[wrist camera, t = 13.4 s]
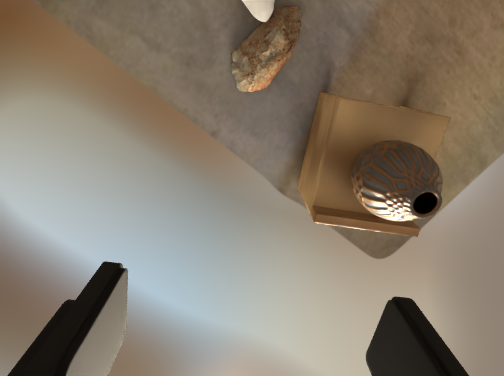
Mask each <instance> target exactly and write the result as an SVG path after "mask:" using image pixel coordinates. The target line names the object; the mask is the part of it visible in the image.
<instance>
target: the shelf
mask: <svg viewBox="0 0 504 376" xmlns="http://www.w3.org/2000/svg"><path fill="white" fill-rule="evenodd" d="M450 119H451V117H448V116H443V115H439V114H435V113H430V112H426V111H422V110H417V109H413V108H408V107H403V106H399V108H398V107H393V106H387V105H381V104H376V103H370V102H365V101H359V100H353V99H348V98H344V97H341V96H337V95H333V94H330V93H324V92H320V94H319V98H318V103H317V107H316V111H315V115H314V119H313V124H312V128H311V132H310V136H309V140H308V145H307V149H306V153H305V157H304V161H303V166H302V170H301V174H300V178H299V182H298V189H299V191H300V193H301V195H302V197H303V199H304V201H305V204H306V206H307V208H308V210H309V212H310V214H311V216H312V219H313V221H314V222H315V223H322V224H329V225H336V226H343V227H350V228H357V229H365V230H372V231H379V232H386V233H393V234H401V235H408V236H416V237H417V236H418V234H419V232H420V228H419V227H418V226H417V225H416V224H415V223H414V222H413V221H411V220H409V221H391V220H387V219H383V218H381V217H378V216H376V215H374V214H373V213H371V212H370V211H368V210H367V209H366V208H365V207H364V206H363V205H362V204H361V203H360V201H359V200H358V199H357V197H356V195H355V193H354V191H353V187H352V183H351V173H352V168H353V165H354V163H355V161H356V159H357V158H358V156H359V155H360V154H361V153H362V152H363V151H364V150H365V149H367V148H368V147H370V146H371V145H373V144H376V143H379V142H382V141H388V140H399V141H405V142H408V143H411V144H414V145H416V146H418V147H420V148H422V149H423V150H425V151H426V152H427V153H428V154H429V155H430V156H431V157H432V158H433V159H435V157H436V154H437V152H438V149H439V147H440V144H441V142H442V139H443V137H444V134H445V132H446V129H447V127H448V124H449V122H450Z"/></svg>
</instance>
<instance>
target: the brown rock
mask: <svg viewBox="0 0 504 376" xmlns="http://www.w3.org/2000/svg"><path fill="white" fill-rule="evenodd" d="M300 11H301V10H300V9H299V8H297V7H291V6H285V7H283V8H279V9H278V10H277V11H276V12H275V14H274V15H272V16H270V18H269V19H268V20H267V21H266V22H262V23H261V24H260V26H259V27H258V28H256V29H255V30H254V31H253V32H252V33H251V35H250V36H249V37H247V38H246V39H245V40H244V41H243V43H242V45H240V46H239V48H238V49H235V50H233V51H232V54H231V55H232V60H233V62H232V63H231V72H232V74H233V76H234V78H235V80H236V82H237V84H236V85H235V86H236V88H239V90H240V91H242V92H245V91H249V92H253V91H259V90H261V89H263V88H266V87H267V86H269V84H270V83H271V81H272V80H273V77H274V76H275V75H276V73H277V72H278V71H279V70H280V68H281V67H282V66H283V65H284V63H285V62H286V60H287V59H288V58H290V56H291V55H292V54H291V52H292V50H293V48H294V46H295V43H296V40H297V37H298V34H299V31H300V27H301V18H302V13H301V12H300Z"/></svg>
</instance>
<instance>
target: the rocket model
mask: <svg viewBox="0 0 504 376" xmlns="http://www.w3.org/2000/svg"><path fill="white" fill-rule="evenodd" d="M242 1H243V2H244V4H245V5H246V7H247V8H248V9H249V11H250V12H251V14H252V15H253V16H254V17H255V18H256V19H258V20H260V21H261V22H266V21H267V20H268V19H269V18H270V16H271V14H272V12H273V9H274V2H275V0H242Z"/></svg>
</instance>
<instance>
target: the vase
mask: <svg viewBox="0 0 504 376" xmlns="http://www.w3.org/2000/svg"><path fill="white" fill-rule="evenodd" d="M351 183H352V187H353V191H354V193H355V195H356V197H357V199H358V200H359V201H360V203H361V204H362V205H363V206H364V207H365V208H366V209H367V210H368V211H370V212H371V213H373V214H374V215H376V216H378V217H381V218H383V219H387V220H391V221H409V220H413V219H416V218H427V217H430V216H432V215H433V214H435V213H436V212H437V211H438V210H439V208H440V206H441V204H442V197H441V192H442V185H443V182H442V175H441V172H440V169H439V167H438V165H437V163H436V162H435V160H434V159H433V158H432V157H431V156H430V155H429V154H428V153H427V152H426V151H425V150H423V149H422V148H420V147H418V146H416V145H414V144H411V143H408V142H405V141H399V140H388V141H382V142H379V143H376V144H373V145H371V146H370V147H368V148H367V149H365V150H364V151H363V152H362V153H361V154H360V155H359V156H358V158H357V159H356V161H355V163H354V165H353V168H352V173H351Z"/></svg>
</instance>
